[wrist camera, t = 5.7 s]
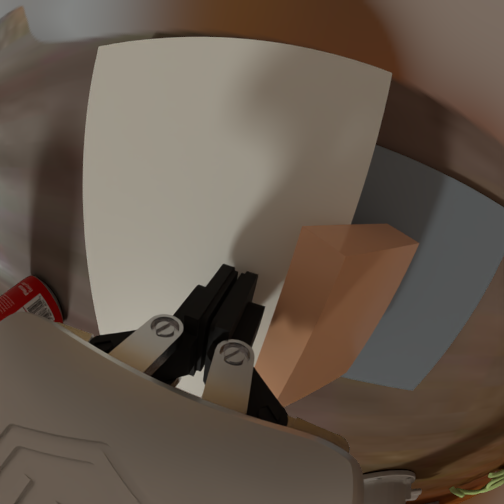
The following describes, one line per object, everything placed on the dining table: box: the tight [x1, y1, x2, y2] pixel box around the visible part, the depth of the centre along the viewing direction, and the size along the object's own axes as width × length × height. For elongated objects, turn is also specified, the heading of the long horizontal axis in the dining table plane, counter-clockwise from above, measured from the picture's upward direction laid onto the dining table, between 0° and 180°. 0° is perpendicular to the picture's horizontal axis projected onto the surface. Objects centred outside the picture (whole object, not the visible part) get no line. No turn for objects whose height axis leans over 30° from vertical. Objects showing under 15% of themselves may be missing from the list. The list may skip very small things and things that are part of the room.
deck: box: [83, 37, 392, 397], centre depth 15 cm, size 14×22×4 cm, turn 168°
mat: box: [341, 145, 504, 390], centre depth 15 cm, size 12×16×1 cm
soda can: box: [0, 276, 63, 323], centre depth 20 cm, size 8×8×15 cm
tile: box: [254, 224, 419, 407], centre depth 12 cm, size 6×9×2 cm
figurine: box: [449, 469, 504, 497], centre depth 21 cm, size 18×27×6 cm
